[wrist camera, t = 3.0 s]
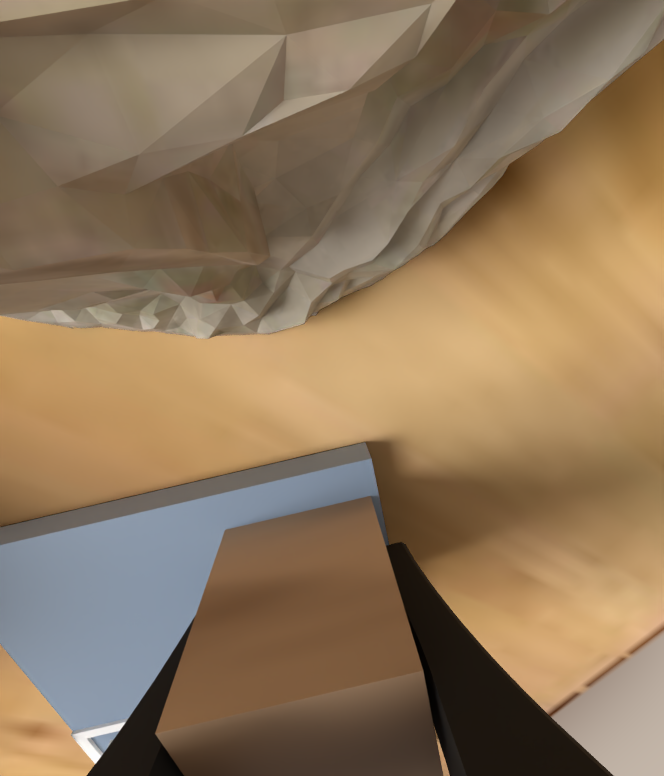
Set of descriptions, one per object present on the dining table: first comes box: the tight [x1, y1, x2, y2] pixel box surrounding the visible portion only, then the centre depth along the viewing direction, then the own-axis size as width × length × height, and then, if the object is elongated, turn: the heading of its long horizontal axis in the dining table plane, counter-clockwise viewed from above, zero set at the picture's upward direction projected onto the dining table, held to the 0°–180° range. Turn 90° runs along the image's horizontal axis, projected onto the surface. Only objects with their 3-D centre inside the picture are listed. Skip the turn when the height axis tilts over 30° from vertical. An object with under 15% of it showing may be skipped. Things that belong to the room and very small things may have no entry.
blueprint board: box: [0, 442, 389, 764], centre depth 12 cm, size 17×13×1 cm
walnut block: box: [155, 496, 443, 776], centre depth 8 cm, size 4×4×4 cm
